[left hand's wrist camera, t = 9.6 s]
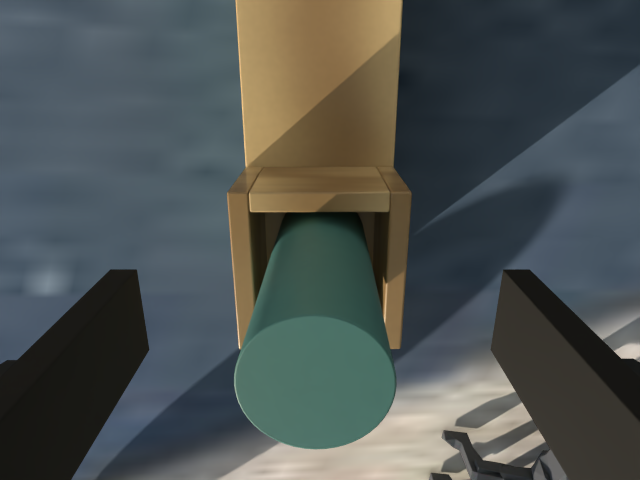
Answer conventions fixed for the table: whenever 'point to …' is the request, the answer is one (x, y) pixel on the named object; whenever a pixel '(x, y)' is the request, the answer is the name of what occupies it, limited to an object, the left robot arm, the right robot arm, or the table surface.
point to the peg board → (319, 136)
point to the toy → (500, 464)
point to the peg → (317, 337)
